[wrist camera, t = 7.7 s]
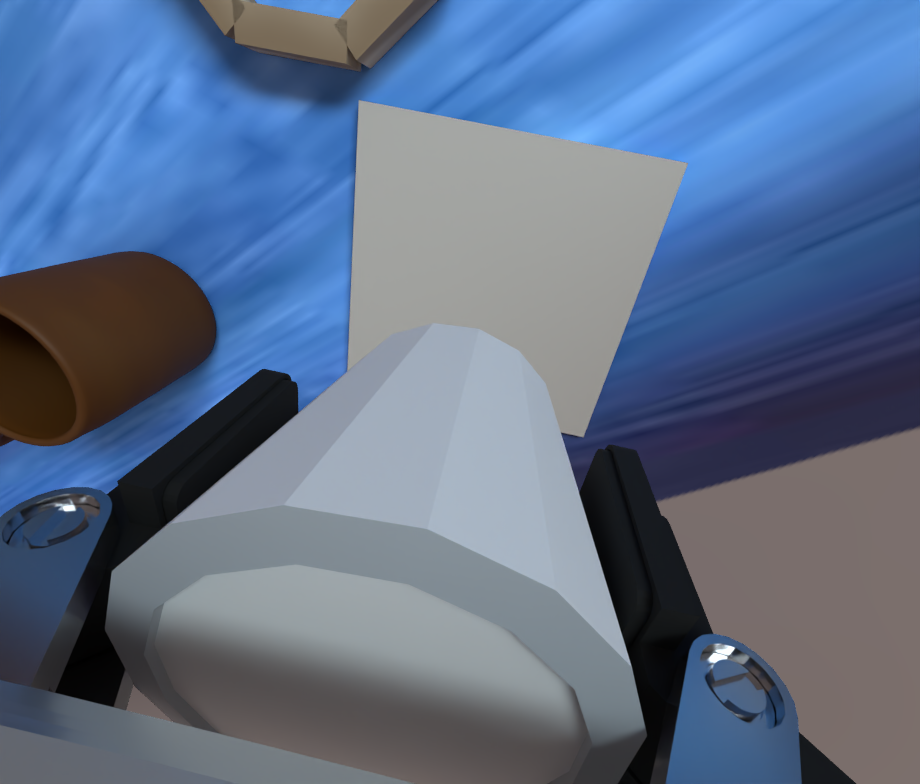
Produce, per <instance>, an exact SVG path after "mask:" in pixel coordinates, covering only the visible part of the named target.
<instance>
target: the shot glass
mask: <svg viewBox="0 0 920 784" xmlns="http://www.w3.org/2000/svg"><path fill="white" fill-rule="evenodd" d="M105 631H106V633H107V635H108V637H109V639H110V640H111V642H112V644H113V646H114V648H115V650H116V652H117V654H118V656H119V657H120V659H121V661H122V663H123V665H124V667H125V669H126V671H127V673H128V674H129V676H130V678H131V680H132V682H133V684H134V686H135V687H136V688H137V689H138V690H139V691H140V692H141V693H143V694H144V695H145V696H146V697H147V698H148V699H149V700H150V701H151V702H152V703H154V705H156V706H157V707H158V708H159V709H160V710H161V711H162V712H163V713H164V714H165V715H166V716H167V717H169V718H170V719H171V720H172V721H173V722H174V723H178V724H182V725H186V726H190V727H194V728H198V729H202V730H206V731H210V732H214V733H218V734H222V735H226V736H230V737H234V738H238V739H242V740H246V741H250V742H254V743H258V744H262V745H266V746H270V747H274V748H278V749H281V750H285V751H289V752H293V753H297V754H301V755H305V756H309V757H313V758H317V759H321V760H325V761H329V762H333V763H337V764H340V765H344V766H348V767H352V768H356V769H360V770H364V771H368V772H372V773H376V774H380V775H384V776H388V777H391V778H395V779H399V780H403V781H407V782H411V783H415V784H618V782H619V781H620V779H621V777H622V776H623V774H624V773H625V771H626V769H627V768H628V766H629V764H630V763H631V761H632V760H633V758H634V756H635V755H636V753H637V751H638V750H639V748H640V747H641V745H642V743H643V742H644V740H645V738H646V737H647V733H646V729H645V724H644V720H643V715H642V711H641V706H640V702H639V697H638V693H637V688H636V684H635V679H634V675H633V670H632V666H631V663H630V660H629V656H628V653H627V650H626V646H625V643H624V640H623V637H622V633H621V630H620V627H619V623H618V620H617V617H616V614H615V610H614V607H613V604H612V600H611V597H610V594H609V590H608V587H607V584H606V581H605V577H604V574H603V571H602V567H601V564H600V561H599V557H598V554H597V551H596V548H595V544H594V541H593V538H592V534H591V531H590V528H589V524H588V521H587V518H586V515H585V511H584V508H583V505H582V501H581V498H580V495H579V491H578V488H577V485H576V482H575V478H574V475H573V472H572V468H571V465H570V462H569V458H568V455H567V452H566V449H565V445H564V442H563V439H562V435H561V432H560V429H559V425H558V422H557V419H556V416H555V412H554V409H553V406H552V402H551V399H550V396H549V392H548V389H547V386H546V383H545V382H544V381H543V380H542V378H541V377H540V376H539V375H538V373H537V372H536V371H535V370H534V368H533V367H532V366H531V365H530V363H529V362H528V361H527V360H526V359H525V357H524V356H523V355H522V354H521V352H520V351H519V350H517V349H515V348H513V347H511V346H510V345H508V344H506V343H504V342H502V341H500V340H499V339H497V338H495V337H493V336H491V335H489V334H488V333H486V332H484V331H482V330H480V329H476V328H468V327H461V326H453V325H445V324H437V323H432V324H428V325H425V326H421V327H417V328H413V329H410V330H406V331H402V332H398V333H395V334H392V335H390V336H389V337H388V338H387V339H386V340H384V341H383V342H382V343H381V344H380V345H378V346H377V347H376V348H375V349H373V350H372V351H371V352H370V353H369V354H367V355H366V356H365V357H364V358H363V359H361V360H360V361H359V362H358V363H357V364H355V365H354V366H353V367H352V368H351V369H350V370H348V371H347V372H346V373H345V374H344V375H343V376H341V377H340V378H339V379H338V380H337V381H335V382H334V383H333V384H332V385H331V386H330V387H328V388H327V389H326V390H325V391H324V392H322V393H321V394H320V395H319V396H318V397H317V398H315V399H314V400H313V401H312V402H311V403H310V404H308V405H307V406H306V407H305V408H304V409H302V410H301V411H300V412H299V413H298V414H297V415H295V416H294V417H293V418H292V419H291V420H289V421H288V422H287V423H286V424H285V425H284V426H282V427H281V428H280V429H279V430H278V431H277V432H275V433H274V434H273V435H272V436H271V437H269V438H268V439H267V440H266V441H265V442H264V443H262V444H261V445H260V446H259V447H258V448H256V449H255V450H254V451H253V452H252V453H251V454H249V455H248V456H247V457H246V458H245V459H244V460H242V461H241V462H240V463H239V464H238V465H236V466H235V467H234V468H233V469H232V470H231V471H229V472H228V473H227V474H226V475H225V476H223V477H222V478H221V479H220V480H219V481H218V482H216V483H215V484H214V485H213V486H212V487H211V488H209V489H208V490H207V491H206V492H205V493H203V494H202V495H201V496H200V497H199V498H198V499H196V500H195V501H194V502H193V503H192V504H190V505H189V506H188V507H187V508H186V509H185V510H183V511H182V512H181V513H180V514H179V515H178V516H176V517H175V518H174V519H173V520H172V521H170V522H169V523H168V524H167V525H166V526H165V527H163V528H162V529H161V530H160V531H159V532H157V533H156V534H155V535H154V536H153V537H152V538H150V539H149V540H148V541H147V542H146V543H145V544H143V545H142V546H141V547H140V548H139V549H137V550H136V551H135V552H134V553H133V554H132V555H130V556H129V557H128V558H127V559H126V560H125V561H123V562H122V563H121V564H120V565H119V566H117V567H116V568H115V569H114V570H113V571H112V574H111V582H110V590H109V599H108V607H107V615H106V623H105Z"/></svg>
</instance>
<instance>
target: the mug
mask: <svg viewBox="0 0 920 784" xmlns="http://www.w3.org/2000/svg"><path fill="white" fill-rule="evenodd" d="M215 337H216V323H215V318H214V314H213V311H212V308H211V306H210V304H209V302H208V300H207V298H206V296H205V295H204V293H203V291H202V290H201V289H200V287H199V286H198V285H197V284H196V282H195V281H194V280H193V279H192V278H191V277H190V276H189V275H188V274H187V273H185V272H184V271H183V270H182V269H180V268H179V267H178V266H176V265H174V264H173V263H171V262H170V261H167V260H165V259H163V258H161V257H159V256H156V255H153V254H150V253H145V252H135V251H128V252H118V253H112V254H107V255H102V256H98V257H93V258H88V259H83V260H78V261H73V262H68V263H63V264H58V265H54V266H49V267H44V268H40V269H35V270H31V271H26V272H21V273H17V274H12V275H8V276H3V277H0V446H3V445H5V444H7V443H9V442H11V441H13V440H17V441H20V442H23V443H27V444H31V445H38V446H55V445H62V444H65V443H68V442H71V441H73V440H75V439H77V438H78V437H80V436H82V435H84V434H86V433H88V432H90V431H92V430H94V429H96V428H98V427H100V426H102V425H104V424H106V423H108V422H109V421H111V420H113V419H114V418H116V417H118V416H119V415H121V414H123V413H124V412H126V411H127V410H129V409H131V408H132V407H134V406H135V405H137V404H139V403H140V402H142V401H144V400H145V399H147V398H148V397H150V396H152V395H153V394H155V393H156V392H158V391H160V390H161V389H163V388H164V387H166V386H167V385H169V384H170V383H172V382H173V381H175V380H177V379H178V378H180V377H181V376H183V375H185V374H186V373H188V372H189V371H191V370H193V369H194V368H195V367H197V366H198V365H199V364H201V363H202V362H203V361H204V360H205V359H206V358H207V356H208V355H209V354H210V352H211V350H212V349H213V346H214V343H215Z"/></svg>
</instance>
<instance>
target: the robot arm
mask: <svg viewBox="0 0 920 784" xmlns="http://www.w3.org/2000/svg"><path fill="white" fill-rule="evenodd" d="M297 414H298V387H297V383H296V382H293V381H291V377H290V376H289V375H288V374H285V373H281V372H276V371H272V370H267V369H262V370H260V371H259V372H257V373H256V374H255V375H253V376H252V377H251V378H250V379H248V380H247V381H246V382H244V383H243V384H242V385H241V386H239V387H238V388H237V389H235V390H234V391H233V392H232V393H230V394H229V395H228V396H226V397H225V398H224V399H223V400H221V401H220V402H219V403H217V404H216V405H215V406H214V407H212V408H211V409H210V410H208V411H207V412H206V413H205V414H203V415H202V416H201V417H199V418H198V419H197V420H196V421H194V422H193V423H192V424H190V425H189V426H188V427H187V428H185V429H184V430H183V431H181V432H180V433H179V434H178V435H176V436H175V437H174V438H172V439H171V440H170V441H169V442H167V443H166V444H165V445H163V446H162V447H161V448H160V449H158V450H157V451H156V452H154V453H153V454H152V455H151V456H149V457H148V458H147V459H145V460H144V461H143V462H142V463H140V464H139V465H138V466H136V467H135V468H134V469H133V470H131V471H130V472H129V473H127V474H126V475H125V476H124V477H122V478H121V479H120V480H118V481H117V482H118V486H117V487H116V488H114V489H113V490H112V491H111V492H109V493H108V494H105V493H104V492H102V491H101V490H97V489H93V488H89V487H71V488H65V489H59V490H54V491H50V492H47V493H44V494H41V495H37V496H35V497H33V498H31V499H28V500H26V501H24V502H22V503H20V504H18V505H16V506H15V507H13V508H12V509H10V510H9V511H7V512H6V513H4V514H3V515H2V516H1V517H0V784H415V783H411V782H407V781H403V780H399V779H395V778H391V777H388V776H384V775H380V774H376V773H372V772H368V771H364V770H360V769H356V768H352V767H348V766H344V765H340V764H337V763H333V762H329V761H325V760H321V759H317V758H313V757H309V756H305V755H301V754H297V753H293V752H289V751H285V750H281V749H278V748H274V747H270V746H266V745H262V744H258V743H254V742H250V741H246V740H242V739H238V738H234V737H230V736H226V735H222V734H218V733H214V732H210V731H206V730H202V729H198V728H194V727H190V726H186V725H182V724H178V723H174V722H170V721H166V720H162V719H158V718H154V717H150V716H146V715H142V714H138V713H134V712H130V711H126V709H127V705H128V702H129V698H130V695H131V691H132V688H133V682H132V680H131V678H130V676H129V674H128V673H127V671H126V669H125V667H124V665H123V663H122V661H121V659H120V657H119V656H118V654H117V652H116V650H115V648H114V646H113V644H112V642H111V640H110V639H109V637H108V635H107V633H106V631H105V623H106V615H107V607H108V599H109V590H110V582H111V574H112V571H113V570H114V569H115V568H116V567H117V566H119V565H120V564H121V563H122V562H123V561H125V560H126V559H127V558H128V557H129V556H130V555H132V554H133V553H134V552H135V551H136V550H137V549H139V548H140V547H141V546H142V545H143V544H145V543H146V542H147V541H148V540H149V539H150V538H152V537H153V536H154V535H155V534H156V533H157V532H159V531H160V530H161V529H162V528H163V527H165V526H166V525H167V524H168V523H169V522H170V521H172V520H173V519H174V518H175V517H176V516H178V515H179V514H180V513H181V512H182V511H183V510H185V509H186V508H187V507H188V506H189V505H190V504H192V503H193V502H194V501H195V500H196V499H198V498H199V497H200V496H201V495H202V494H203V493H205V492H206V491H207V490H208V489H209V488H211V487H212V486H213V485H214V484H215V483H216V482H218V481H219V480H220V479H221V478H222V477H223V476H225V475H226V474H227V473H228V472H229V471H231V470H232V469H233V468H234V467H235V466H236V465H238V464H239V463H240V462H241V461H242V460H244V459H245V458H246V457H247V456H248V455H249V454H251V453H252V452H253V451H254V450H255V449H256V448H258V447H259V446H260V445H261V444H262V443H264V442H265V441H266V440H267V439H268V438H269V437H271V436H272V435H273V434H274V433H275V432H277V431H278V430H279V429H280V428H281V427H282V426H284V425H285V424H286V423H287V422H288V421H289V420H291V419H292V418H293V417H294V416H295V415H297ZM579 495H580V498H581V501H582V505H583V508H584V511H585V515H586V518H587V521H588V524H589V528H590V531H591V534H592V538H593V541H594V544H595V548H596V551H597V554H598V557H599V561H600V564H601V567H602V571H603V574H604V577H605V581H606V584H607V587H608V590H609V594H610V597H611V600H612V604H613V607H614V610H615V614H616V617H617V620H618V623H619V627H620V630H621V633H622V637H623V640H624V643H625V646H626V650H627V653H628V656H629V660H630V663H631V666H632V670H633V675H634V679H635V684H636V688H637V693H638V697H639V702H640V706H641V711H642V715H643V720H644V724H645V729H646V733H647V737H646V738H645V740H644V742H643V743H642V745H641V747H640V748H639V750H638V751H637V753H636V755H635V756H634V758H633V760H632V761H631V763H630V764H629V766H628V768H627V769H626V771H625V773H624V774H623V776H622V777H621V779H620V781H619V782H618V784H856V783H855V782H854V781H853V780H852V779H850V778H849V777H848V776H847V775H846V774H845V773H844V772H843V771H842V770H840V769H839V768H838V767H837V766H836V765H835V764H834V763H833V762H832V761H830V760H829V759H828V758H827V757H826V756H825V755H824V754H823V753H822V752H820V751H819V750H818V749H817V748H816V747H815V746H814V745H813V744H811V743H810V742H809V741H808V740H807V739H806V738H805V737H804V736H803V735H802V734H800V733H799V729H798V717H797V713H796V708H795V704H794V701H793V699H792V697H791V695H790V693H789V691H788V689H787V687H786V685H785V684H784V683H783V681H782V680H781V679H780V677H779V676H778V675H777V674H776V672H775V671H774V669H772V668H771V667H770V666H769V665H768V664H767V663H766V662H765V661H764V660H763V659H762V658H761V657H760V656H759V655H757V654H756V653H755V652H754V651H752V650H751V649H749V648H748V647H747V646H745V645H744V644H742V643H740V642H738V641H735V640H733V639H731V638H729V637H726V636H721V635H717V634H713V632H712V630H711V627H710V625H709V622H708V619H707V617H706V614H705V612H704V609H703V607H702V604H701V602H700V599H699V597H698V594H697V592H696V589H695V587H694V584H693V582H692V579H691V577H690V574H689V572H688V569H687V567H686V564H685V562H684V559H683V557H682V554H681V551H680V549H679V546H678V544H677V541H676V539H675V536H674V534H673V531H672V529H671V526H670V524H669V522H668V521H667V519H666V518H665V517H663V516H661V514H660V511H659V508H658V506H657V503H656V500H655V498H654V495H653V493H652V490H651V487H650V485H649V482H648V480H647V477H646V474H645V472H644V469H643V466H642V464H641V461H640V459H639V456H638V453H637V452H636V451H635V450H633V449H628V448H624V447H619V446H615V445H608V446H607V447H606V449H605V450H603V449H598V450H597V452H596V454H595V456H594V459H593V461H592V463H591V466H590V468H589V471H588V473H587V476H586V478H585V481H584V483H583V485H582V488H581V490H580V493H579Z"/></svg>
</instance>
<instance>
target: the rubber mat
mask: <svg viewBox="0 0 920 784" xmlns="http://www.w3.org/2000/svg"><path fill="white" fill-rule="evenodd" d="M687 165H688V163H685V162H679V161H674V160H669V159H664V158H658V157H653V156H648V155H643V154H637V153H632V152H627V151H622V150H617V149H611V148H606V147H601V146H596V145H590V144H585V143H580V142H575V141H570V140H564V139H559V138H554V137H549V136H543V135H538V134H533V133H528V132H523V131H517V130H512V129H507V128H502V127H496V126H491V125H486V124H481V123H476V122H470V121H465V120H460V119H455V118H449V117H444V116H439V115H434V114H429V113H423V112H418V111H413V110H408V109H402V108H397V107H392V106H387V105H382V104H376V103H371V102H366V101H361V100H359V110H358V134H357V157H356V181H355V205H354V228H353V252H352V276H351V299H350V323H349V346H348V370H350V369H351V368H352V367H353V366H354V365H355V364H357V363H358V362H359V361H360V360H361V359H363V358H364V357H365V356H366V355H367V354H369V353H370V352H371V351H372V350H373V349H375V348H376V347H377V346H378V345H380V344H381V343H382V342H383V341H384V340H386V339H387V338H388V337H389V336H390V335H392V334H395V333H398V332H402V331H406V330H410V329H413V328H417V327H421V326H425V325H428V324H432V323H437V324H445V325H453V326H461V327H468V328H476V329H480V330H482V331H484V332H486V333H488V334H489V335H491V336H493V337H495V338H497V339H499V340H500V341H502V342H504V343H506V344H508V345H510V346H511V347H513V348H515V349H517V350H519V351H520V352H521V354H522V355H523V356H524V357H525V359H526V360H527V361H528V362H529V363H530V365H531V366H532V367H533V368H534V370H535V371H536V372H537V373H538V375H539V376H540V377H541V378H542V380H543V381H544V382H545V383H546V386H547V389H548V392H549V396H550V399H551V402H552V406H553V409H554V412H555V416H556V419H557V422H558V425H559V429H560V432H562V433H566V434H571V435H576V436H580V437H584V434H585V431H586V429H587V426H588V423H589V421H590V418H591V416H592V413H593V410H594V408H595V405H596V403H597V400H598V397H599V395H600V392H601V389H602V387H603V384H604V382H605V379H606V376H607V374H608V371H609V369H610V366H611V363H612V361H613V358H614V356H615V353H616V350H617V348H618V345H619V342H620V340H621V337H622V335H623V332H624V329H625V327H626V324H627V322H628V319H629V316H630V314H631V311H632V308H633V306H634V303H635V301H636V298H637V295H638V293H639V290H640V288H641V285H642V282H643V280H644V277H645V275H646V272H647V269H648V267H649V264H650V261H651V259H652V256H653V254H654V251H655V248H656V246H657V243H658V241H659V238H660V235H661V233H662V230H663V227H664V225H665V222H666V220H667V217H668V214H669V212H670V209H671V207H672V204H673V201H674V199H675V196H676V193H677V191H678V188H679V186H680V183H681V180H682V178H683V175H684V173H685V170H686V167H687ZM348 370H347V371H348Z"/></svg>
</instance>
